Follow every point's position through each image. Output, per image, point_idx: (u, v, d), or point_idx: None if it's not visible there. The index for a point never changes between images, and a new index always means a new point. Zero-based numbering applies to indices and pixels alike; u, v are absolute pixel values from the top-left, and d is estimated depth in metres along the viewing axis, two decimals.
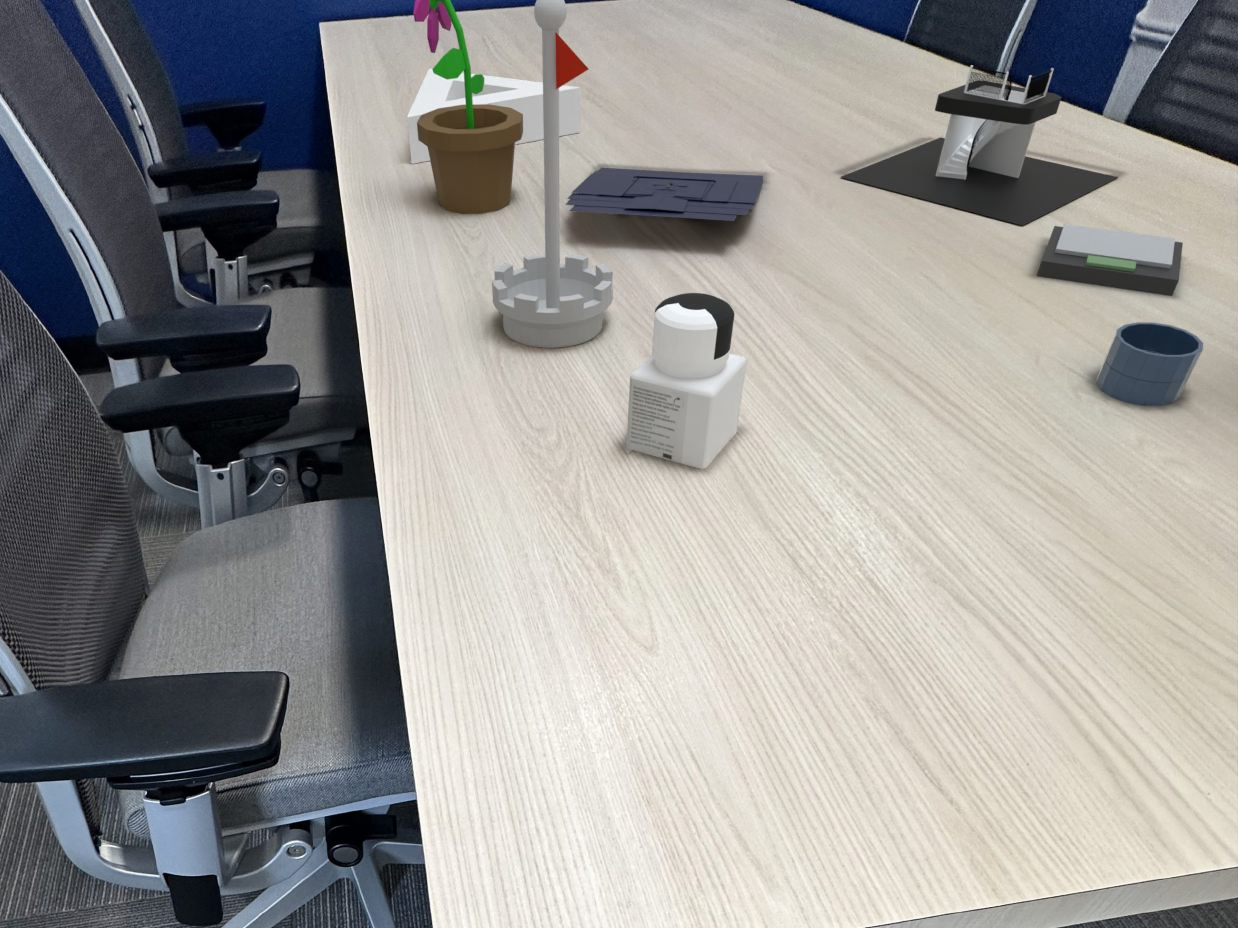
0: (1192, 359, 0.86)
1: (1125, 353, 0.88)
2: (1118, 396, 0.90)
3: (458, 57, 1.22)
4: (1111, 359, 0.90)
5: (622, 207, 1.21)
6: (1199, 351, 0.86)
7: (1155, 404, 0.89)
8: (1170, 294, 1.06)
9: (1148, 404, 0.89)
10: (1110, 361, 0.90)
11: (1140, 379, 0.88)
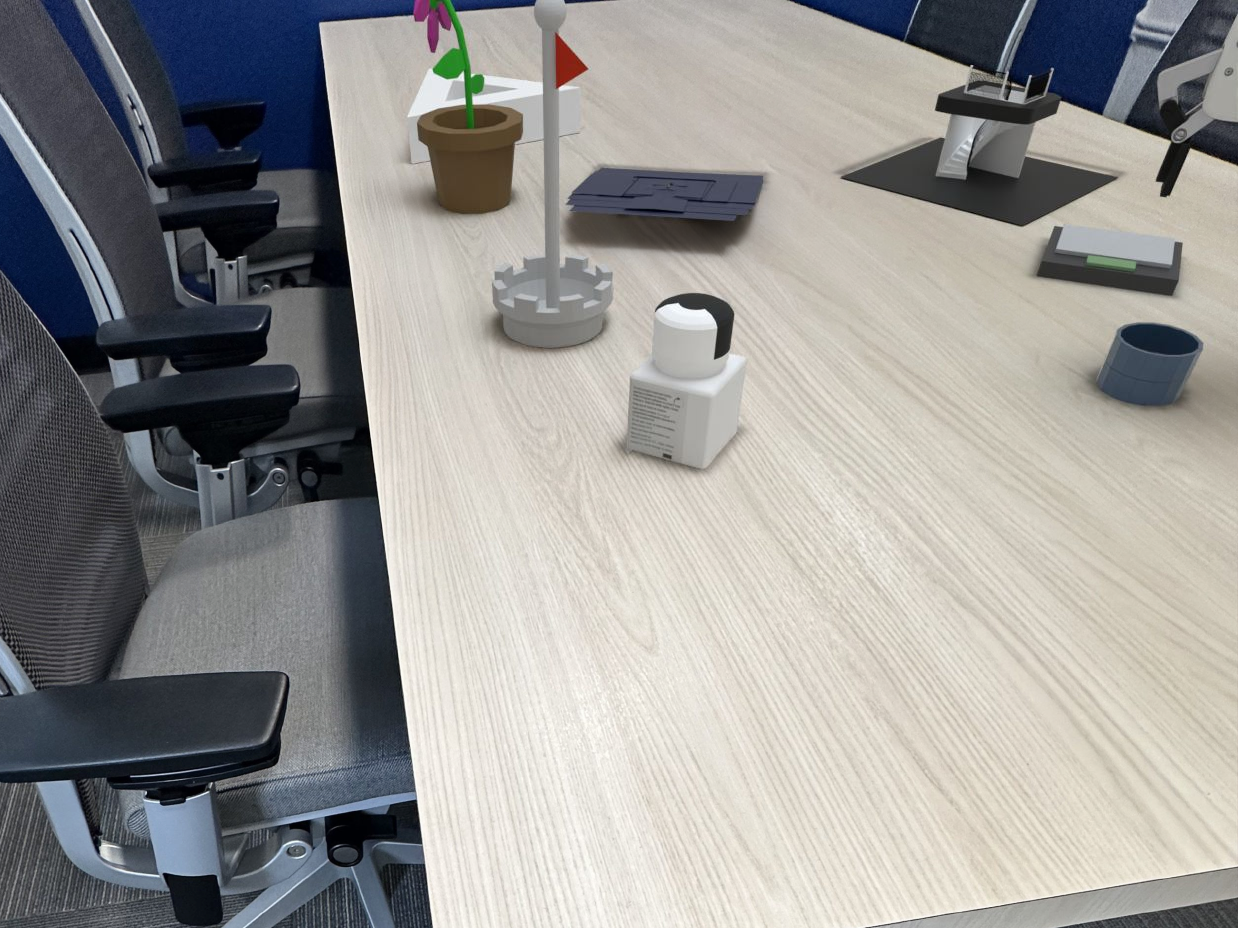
0: (1192, 359, 0.86)
1: (1125, 353, 0.88)
2: (1118, 396, 0.90)
3: (458, 57, 1.22)
4: (1111, 359, 0.90)
5: (622, 207, 1.21)
6: (1199, 351, 0.86)
7: (1155, 404, 0.89)
8: (1170, 294, 1.06)
9: (1148, 404, 0.89)
10: (1110, 361, 0.90)
11: (1140, 379, 0.88)
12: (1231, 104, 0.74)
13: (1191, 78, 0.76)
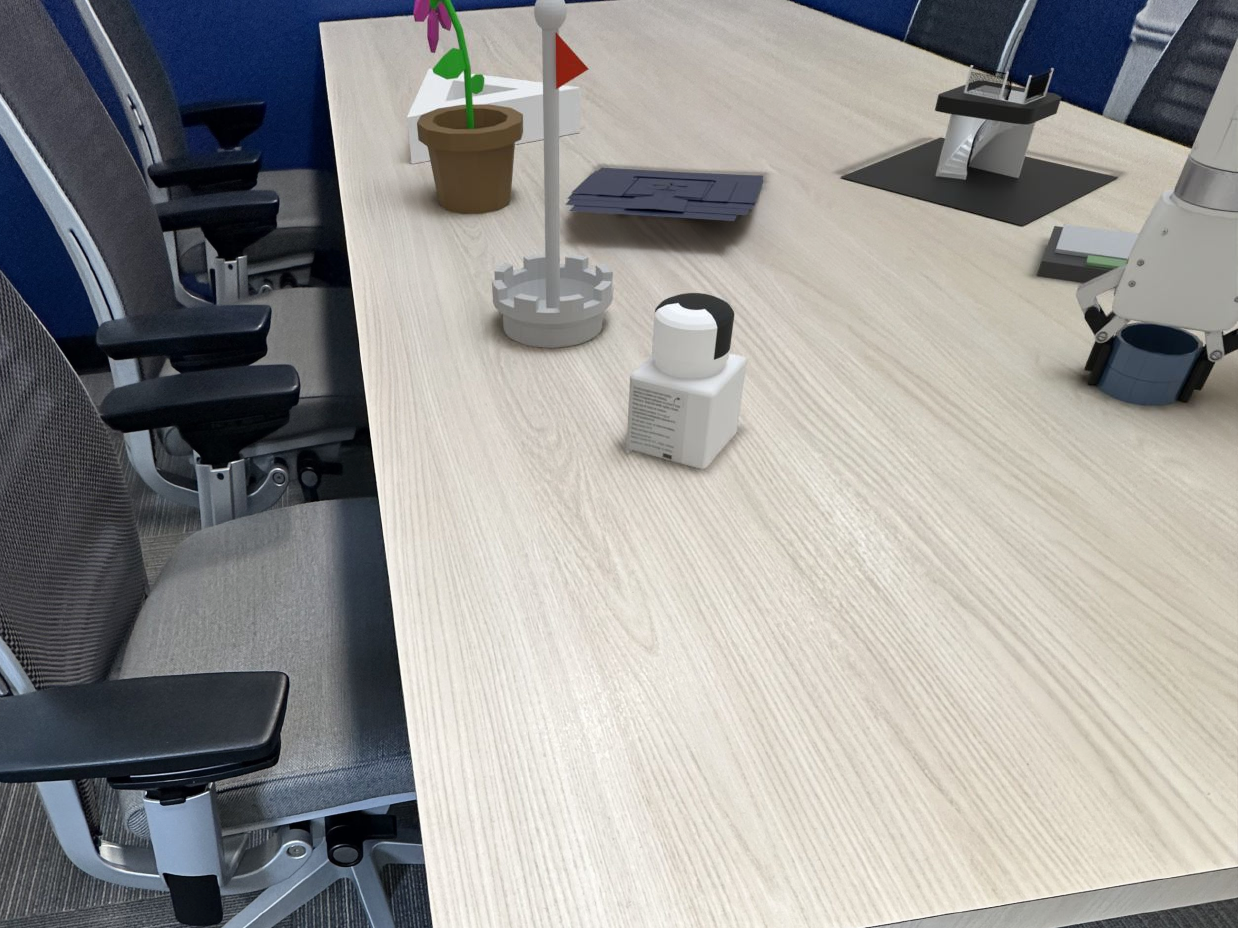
0: (1192, 359, 0.86)
1: (1125, 353, 0.88)
2: (1118, 396, 0.90)
3: (458, 57, 1.22)
4: (1111, 359, 0.90)
5: (622, 207, 1.21)
6: (1199, 351, 0.86)
7: (1155, 404, 0.89)
8: None
9: (1148, 404, 0.89)
10: (1110, 361, 0.90)
11: (1140, 379, 0.88)
12: (1135, 309, 0.86)
13: (1105, 290, 0.87)
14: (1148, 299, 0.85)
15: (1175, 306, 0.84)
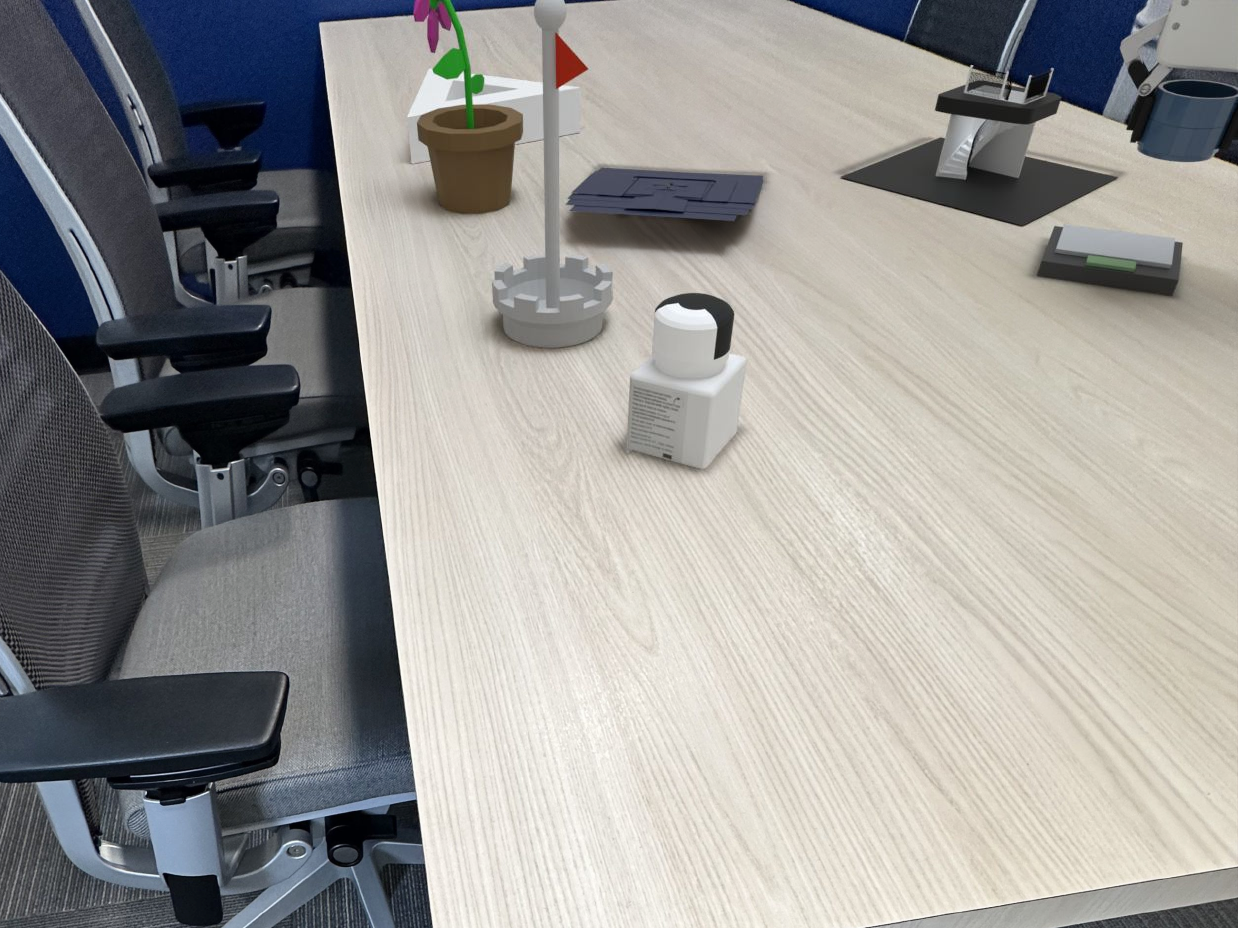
0: (1233, 103, 0.90)
1: (1168, 102, 0.92)
2: (1160, 148, 0.94)
3: (458, 57, 1.22)
4: (1153, 112, 0.94)
5: (622, 207, 1.21)
6: None
7: (1196, 153, 0.93)
8: (1170, 294, 1.06)
9: (1190, 154, 0.93)
10: (1152, 115, 0.94)
11: (1182, 127, 0.92)
12: (1179, 53, 0.90)
13: (1148, 39, 0.91)
14: (1191, 41, 0.89)
15: (1217, 46, 0.88)
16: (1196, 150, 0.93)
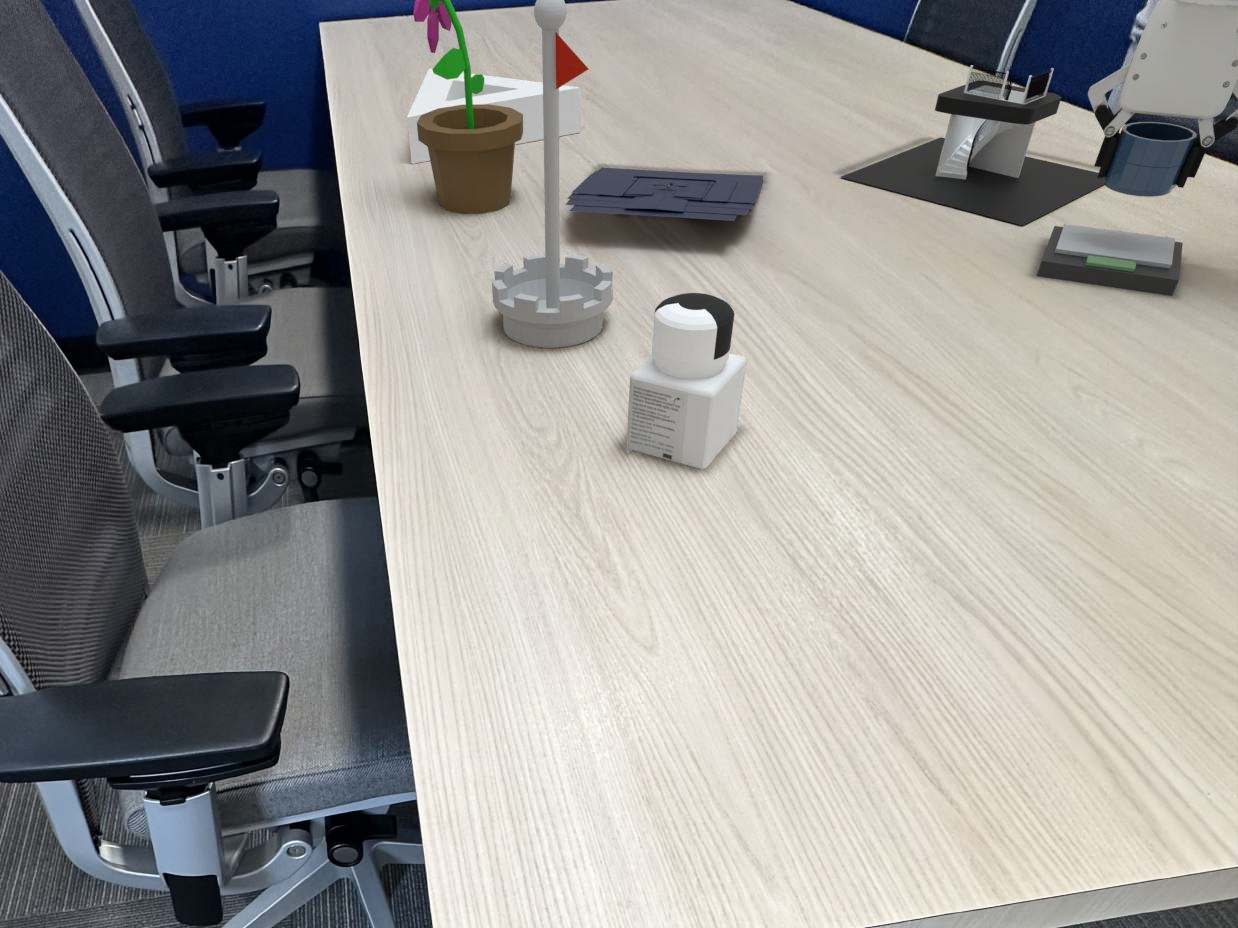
0: (1187, 145, 1.01)
1: (1130, 143, 1.02)
2: (1123, 184, 1.04)
3: (458, 57, 1.22)
4: (1117, 151, 1.04)
5: (622, 207, 1.21)
6: (1193, 138, 1.01)
7: (1155, 189, 1.04)
8: (1170, 294, 1.06)
9: (1149, 189, 1.04)
10: (1117, 153, 1.04)
11: (1142, 165, 1.02)
12: (1139, 100, 1.00)
13: (1112, 87, 1.02)
14: (1150, 90, 0.99)
15: (1173, 95, 0.99)
16: (1155, 186, 1.03)
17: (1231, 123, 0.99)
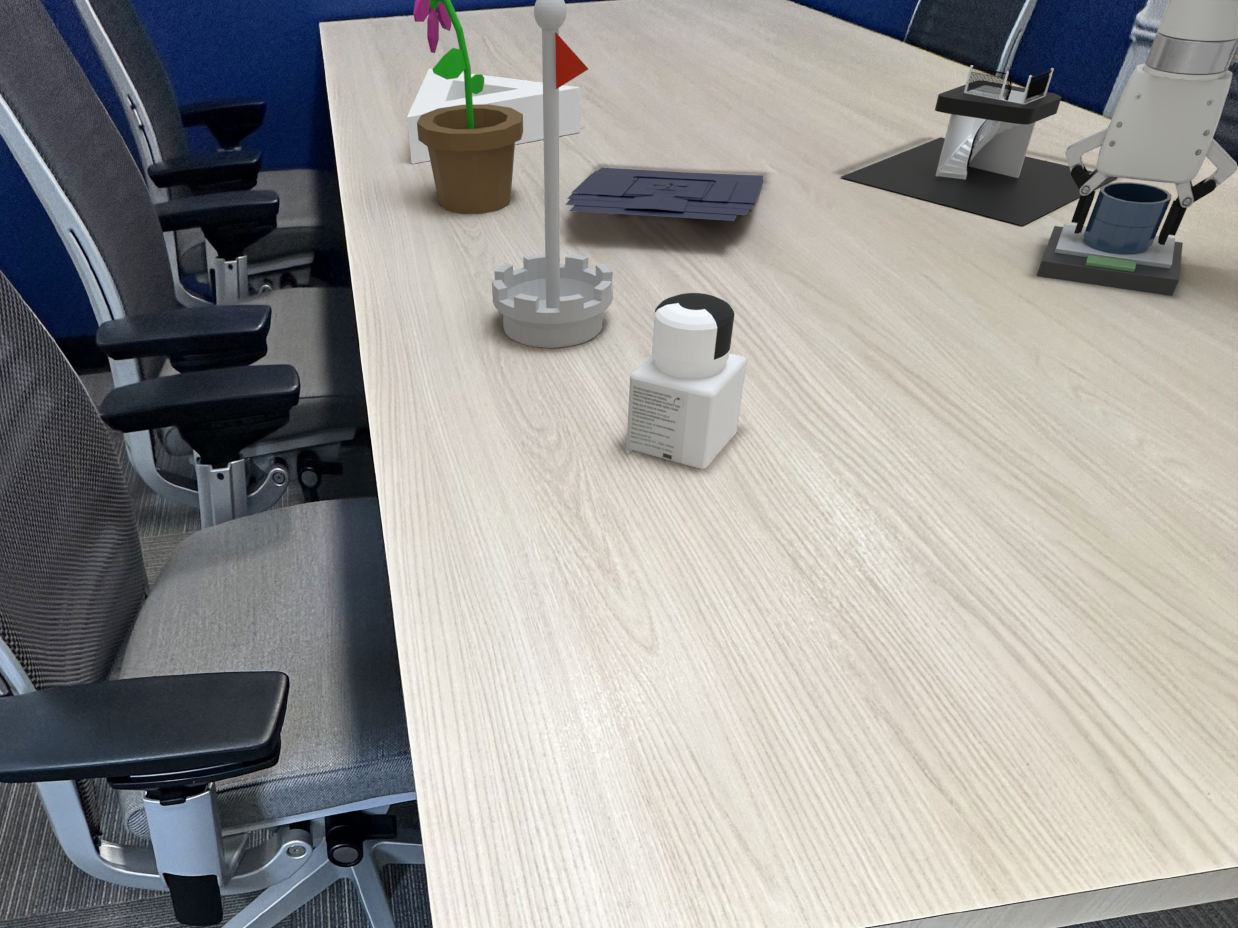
0: (1162, 206, 1.05)
1: (1107, 204, 1.07)
2: (1102, 242, 1.09)
3: (458, 57, 1.22)
4: (1096, 211, 1.09)
5: (622, 207, 1.21)
6: (1168, 200, 1.05)
7: (1132, 247, 1.08)
8: (1170, 294, 1.06)
9: (1126, 247, 1.08)
10: (1095, 213, 1.09)
11: (1119, 225, 1.07)
12: (1115, 165, 1.05)
13: (1089, 149, 1.06)
14: (1125, 156, 1.04)
15: (1147, 161, 1.03)
16: (1132, 245, 1.08)
17: (1209, 185, 1.03)
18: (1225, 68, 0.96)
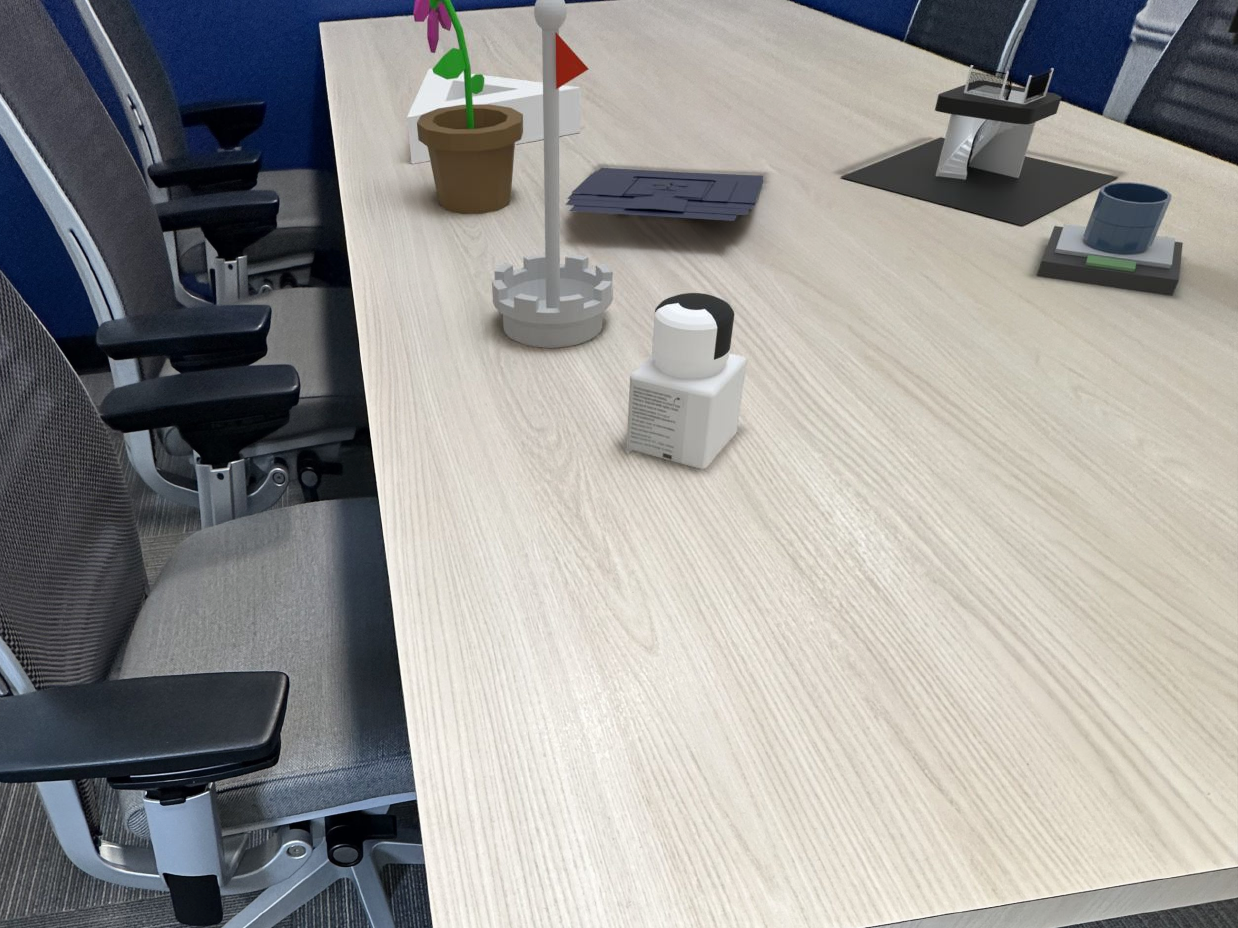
0: (1162, 206, 1.05)
1: (1107, 204, 1.07)
2: (1102, 242, 1.09)
3: (458, 57, 1.22)
4: (1096, 211, 1.09)
5: (622, 207, 1.21)
6: (1168, 200, 1.05)
7: (1132, 247, 1.08)
8: (1170, 294, 1.06)
9: (1126, 247, 1.08)
10: (1095, 213, 1.09)
11: (1119, 225, 1.07)
12: None
13: None
14: None
15: None
16: (1132, 245, 1.08)
17: None
18: None
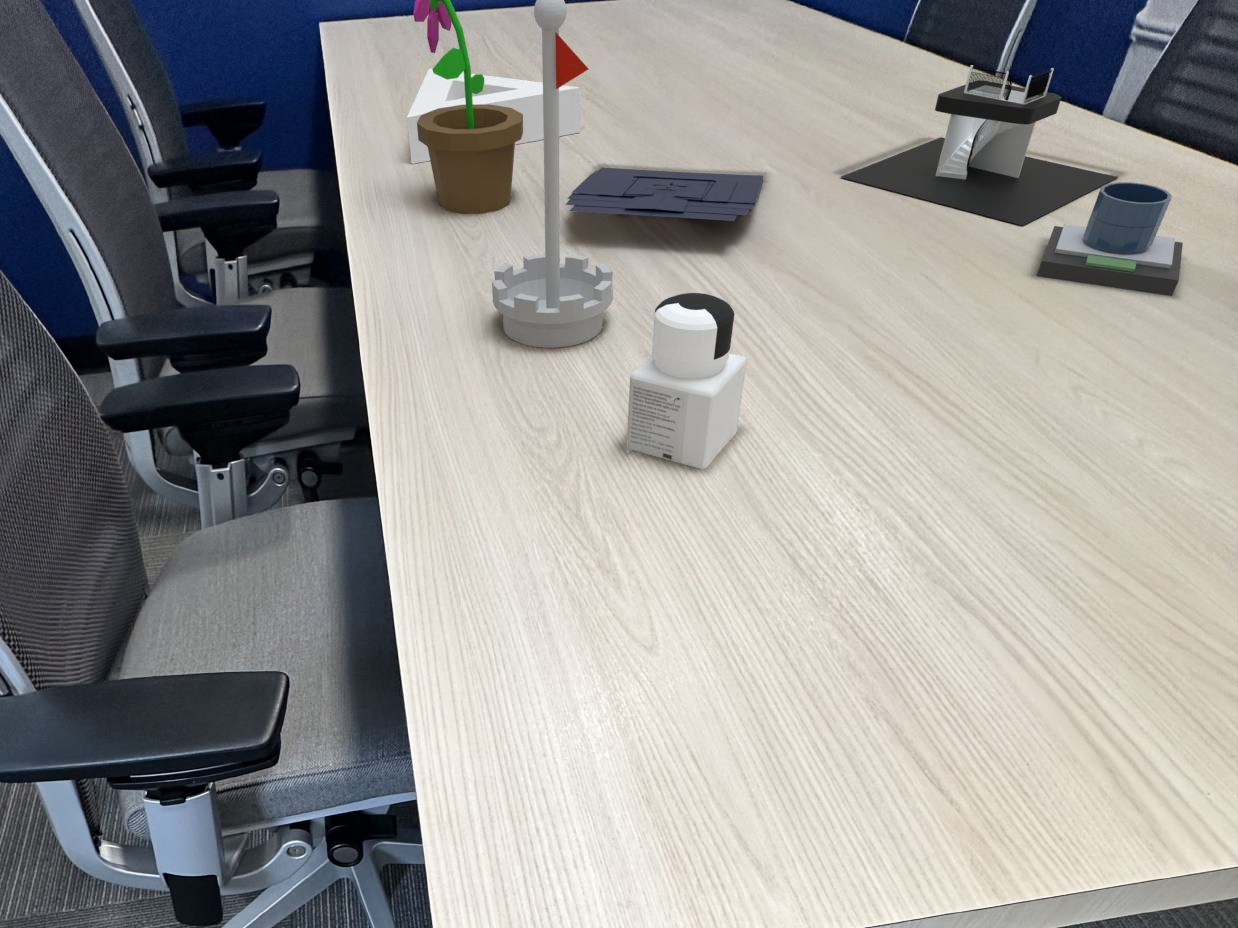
0: (1162, 206, 1.05)
1: (1107, 204, 1.07)
2: (1102, 242, 1.09)
3: (458, 57, 1.22)
4: (1096, 211, 1.09)
5: (622, 207, 1.21)
6: (1168, 200, 1.05)
7: (1132, 247, 1.08)
8: (1170, 294, 1.06)
9: (1126, 247, 1.08)
10: (1095, 213, 1.09)
11: (1119, 225, 1.07)
12: None
13: None
14: None
15: None
16: (1132, 245, 1.08)
17: None
18: None
